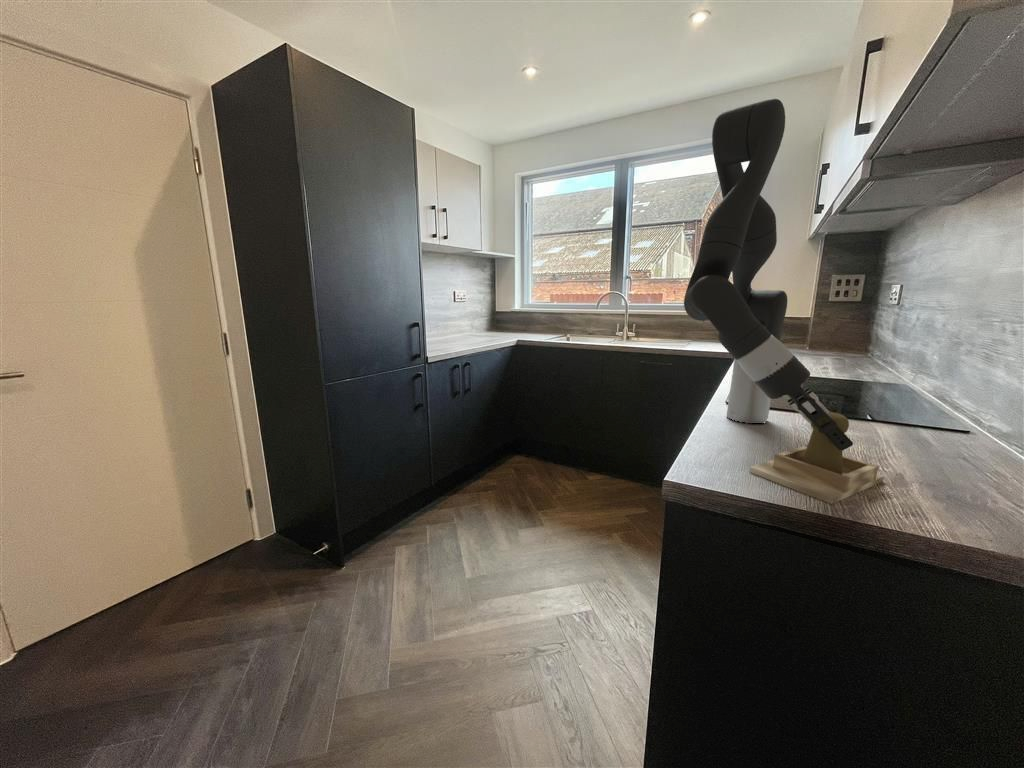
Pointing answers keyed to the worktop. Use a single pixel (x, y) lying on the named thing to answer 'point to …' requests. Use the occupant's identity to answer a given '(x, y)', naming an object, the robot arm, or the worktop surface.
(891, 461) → the worktop surface
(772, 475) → the stand
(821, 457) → the cork
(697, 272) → the robot arm
